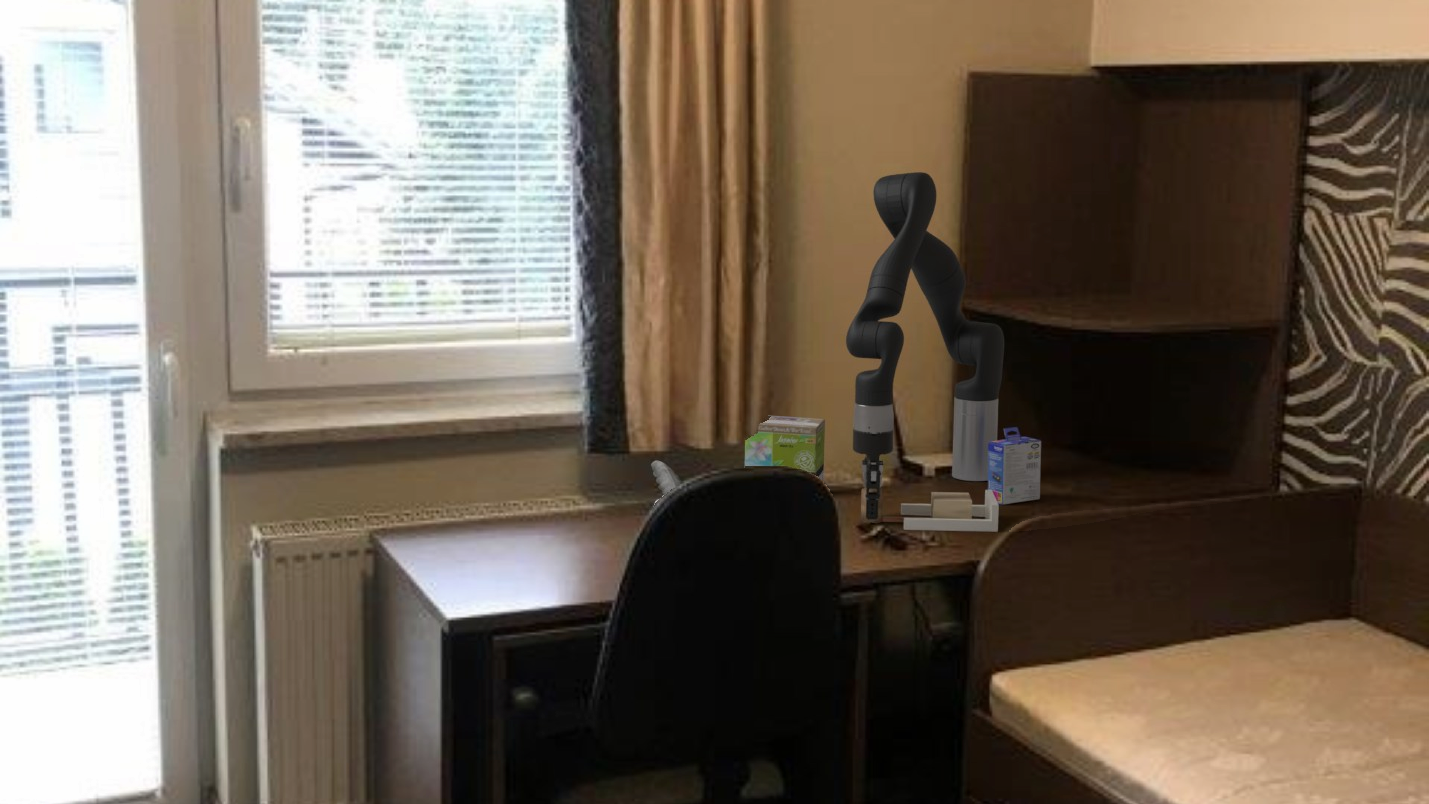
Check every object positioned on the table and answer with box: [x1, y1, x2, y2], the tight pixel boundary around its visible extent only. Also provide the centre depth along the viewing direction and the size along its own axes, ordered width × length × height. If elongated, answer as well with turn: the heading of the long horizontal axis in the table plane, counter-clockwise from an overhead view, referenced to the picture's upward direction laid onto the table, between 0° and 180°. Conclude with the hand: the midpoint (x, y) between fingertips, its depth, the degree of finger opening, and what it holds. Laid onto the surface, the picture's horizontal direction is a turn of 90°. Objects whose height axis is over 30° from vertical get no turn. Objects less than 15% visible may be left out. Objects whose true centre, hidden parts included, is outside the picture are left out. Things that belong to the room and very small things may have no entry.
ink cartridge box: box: [987, 426, 1042, 505], centre depth 308 cm, size 10×6×14 cm, turn 120°
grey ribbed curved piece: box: [650, 460, 683, 506], centre depth 294 cm, size 9×18×10 cm, turn 24°
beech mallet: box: [860, 487, 973, 524], centre depth 291 cm, size 7×20×6 cm, turn 86°
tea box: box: [744, 415, 826, 481], centre depth 316 cm, size 15×10×15 cm
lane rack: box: [900, 489, 1000, 533], centre depth 291 cm, size 12×17×5 cm
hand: (871, 515), depth 292 cm, fingers closed on beech mallet, 4 cm apart
